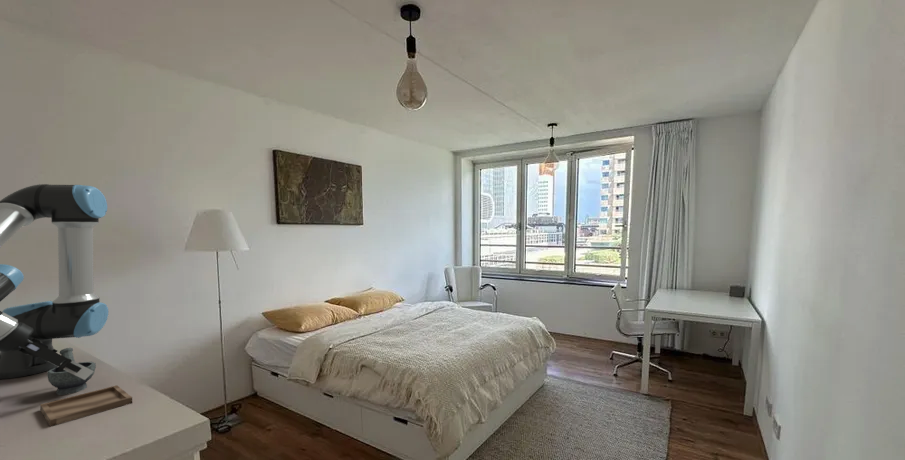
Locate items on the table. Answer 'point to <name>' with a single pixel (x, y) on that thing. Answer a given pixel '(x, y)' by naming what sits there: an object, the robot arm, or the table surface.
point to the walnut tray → (84, 405)
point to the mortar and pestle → (69, 376)
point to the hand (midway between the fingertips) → (81, 371)
